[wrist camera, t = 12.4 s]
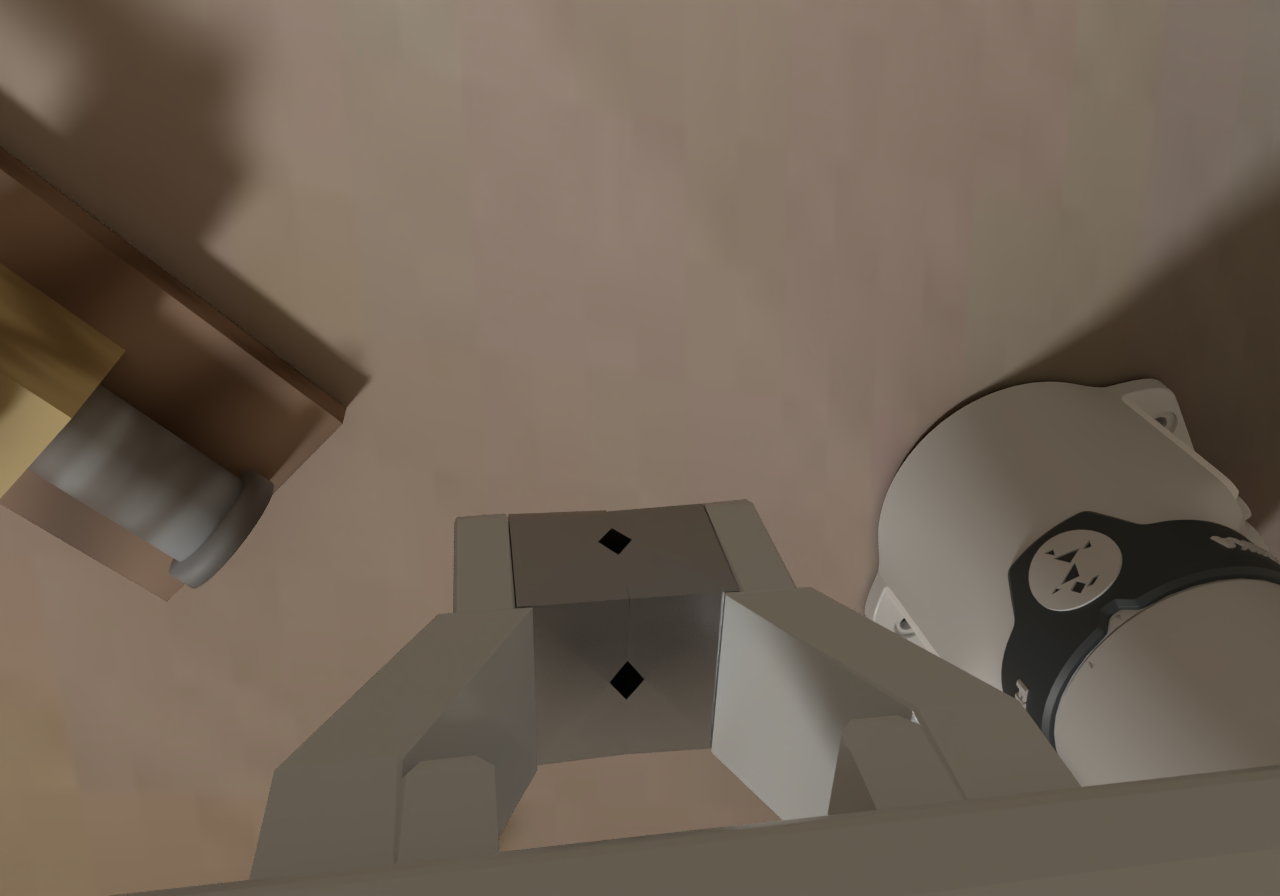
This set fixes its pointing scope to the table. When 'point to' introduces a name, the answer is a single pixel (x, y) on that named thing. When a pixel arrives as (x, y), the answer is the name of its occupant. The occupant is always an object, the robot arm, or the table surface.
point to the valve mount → (134, 399)
